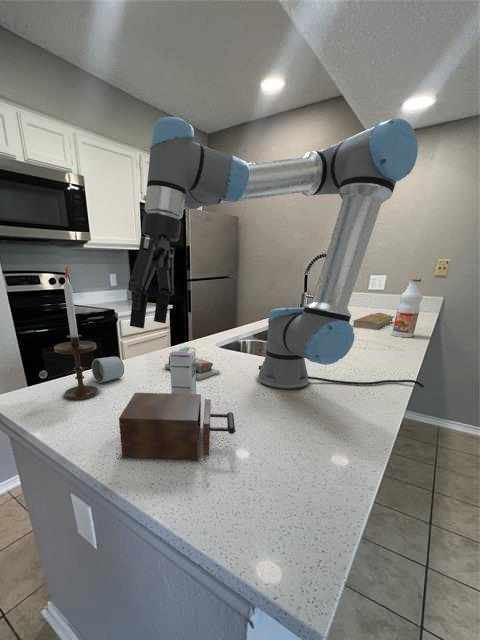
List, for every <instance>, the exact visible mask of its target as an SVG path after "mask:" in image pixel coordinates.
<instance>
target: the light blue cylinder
mask: <svg viewBox="0 0 480 640" xmlns="http://www.w3.org/2000/svg"><path fill="white" fill-rule="evenodd" d="M91 373H92V376H93V378H94V380H95V381H96V382H97V383H99V384H102V383H103V384H104V383H106V382H110V381H113V380H117V379H119V378H121V377H123V376H124V373H125V364H124V363H123V360H122V359H121V357H119V356H108V357H99V358H94V359H93V361H92V363H91Z"/></svg>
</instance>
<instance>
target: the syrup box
mask: <svg viewBox="0 0 480 640" xmlns="http://www.w3.org/2000/svg"><path fill="white" fill-rule="evenodd" d="M196 355H197V354H196V347H192V346H191V347H189V346H175V347H174V349H172V350H171V351H170V352H169V356H170V369H169V370H170V391H171V392H170V394H197V379H196V358H197V357H196Z"/></svg>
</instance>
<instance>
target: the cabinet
mask: <svg viewBox="0 0 480 640" xmlns="http://www.w3.org/2000/svg"><path fill="white" fill-rule="evenodd" d="M201 406H202V394H199V393H196V394H171V393H166V392H165V393H163V392H161V393H160V392H134V393H133V395H132V397H131V398H130V400H129V401H128V403H127V405H126V406H125V408H124V409H123V410H122V412H121V414H120V416H119V417H118V424H119V437H120V446H121V447H120V448H121V455H122V456H121V458H123V459H145V460H169V461H170V460H171V461H195V462H197V461H198V460H199V459H198V458H199V450H200V449H199V447H200V438H201V425H202V424H201V423H202V422H201V418H202V417H201V415H202V414H201V412H202V411H201V410H202V409H201V408H202V407H201ZM198 416H199V431H198Z"/></svg>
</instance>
